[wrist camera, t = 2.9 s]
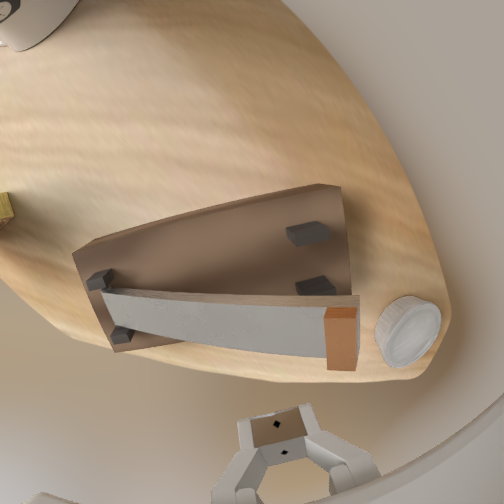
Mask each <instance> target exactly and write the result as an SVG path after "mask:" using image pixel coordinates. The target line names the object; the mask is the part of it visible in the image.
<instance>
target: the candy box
mask: <svg viewBox="0 0 504 504" xmlns="http://www.w3.org/2000/svg"><path fill="white" fill-rule="evenodd" d="M13 217H14V212H13V210H12V207H11V204H10V201H9V198H8V195H7V192H3V193H0V229H1V228H2V227H3V226H4V225H5V224H6V223H7V222H8V221H9V220H10V219H11V218H13Z"/></svg>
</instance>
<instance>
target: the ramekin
mask: <svg viewBox="0 0 504 504" xmlns="http://www.w3.org/2000/svg"><path fill="white" fill-rule="evenodd" d="M440 326H441V313H440V310H439V308H438V307H437V306H436V305H435V304H434V303H432V302H430V301H425V300H422V299H420V298H417V297H415V296H404V297H401V298H399V299H397V300H395V301H393V302H392V303H391V304H389V305H388V306H387V307H386V308H385V310H384V311H383V312H382V314H381V315H380V317H379V319H378V321H377V324H376V328H375V341H376V343H377V345H378V347H379V349H380V351H381V353H382V356H383V359H384V361H385V362H386V363H387V364H388V365H389V366H390V367H393V368H402V367H405V366H408V365H410V364H412V363H414V362H415V361H417V360H418V359H419V358H421V357H422V356H423V355H424V354H425V353H426V352H427V351H428V350H429V348H430V347H431V346H432V344H433V343H434V341H435V339H436V337H437V335H438V333H439V330H440Z"/></svg>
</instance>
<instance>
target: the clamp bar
mask: <svg viewBox="0 0 504 504" xmlns="http://www.w3.org/2000/svg"><path fill="white" fill-rule="evenodd" d="M100 292H101V294H102V297H103V299H104V302H105V304H106V306H107V309H108V311H109V313H110V315H111V318H112V320H113V322H114V324H115V326H116V327H121V326H122V327H126V328H130V329H134V330H138V331H142V332H146V333H151V334H155V335H160V336H164V337H169V338H174V339H179V340H184V341H189V342H194V343H200V344H206V345H212V346H218V347H224V348H231V349H238V350H245V351H253V352H261V353H270V354H279V355H290V356H302V357H316V358H327V370H337V371H356V366H357V360H358V355H359V349H360V297H359V295H346V296H275V295H233V294H207V293H187V292H169V291H154V290H140V289H127V288H115V287H111V286H110V284H109V285H108V286H107V287H106V288H102V289H100Z"/></svg>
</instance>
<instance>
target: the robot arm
mask: <svg viewBox="0 0 504 504" xmlns="http://www.w3.org/2000/svg"><path fill="white" fill-rule="evenodd" d="M78 1H79V0H0V46H8V47H9V48H10V49H12V50H13V51H23V50H26V49H28V48H30V47H32V46H34V45H36V44H37V43H39V42H40V41H42V40H43V39H44V38H45V37H47V36H48V35H49V34H50V33H51V32H53V31H54V30H55V29H56V28H57V27H58V26H59V25H60V24H61V23H62V22H63V21H64V19H65V18H66V17H67V16H68V15H69V13H70V12H71V11H72V9H73V8H74V7H75V5H76V4H77V3H78ZM237 424H238V433H239V441H240V448H241V451H238V452H237V453H236V454H235V456H234V457H233V459H232V460H231V462H230V463H229V465H228V467H227V468H226V470H225V471H224V473H223V474H222V476H221V477H220V479H219V480H218V481H217V483H216V485H215V486H214V487H213V489H212V490H211V504H264V503H263V502H262V500H261V499H260V497H259V496H258V494H257V493H256V491H257V489H258V487H259V485H260V483H261V481H262V479H263V477H264V474H265V472H266V470H267V467H268V466H272V465H277V464H281V463H284V462H288V461H293V460H297V459H301V458H305V457H308V458H309V459H310V460H312V461H313V462H314V463H316V464H317V465H318V466H320V467H321V468H323V469H324V470H326V471H327V472H328V473H329V492H330V495H331V496H329V497H326V498H323V499H320V500H316V501H312V502H309V503H306V504H504V393H503V394H502V395H501V396H500V397H499V398H498V399H497V400H496V401H495V402H494V403H492V404H491V405H490V406H489V407H488V408H487V409H486V410H484V411H483V412H482V413H481V414H480V415H479V416H477V417H476V418H475V419H474V420H472V421H471V422H470V423H468V424H467V425H466V426H465V427H463V428H462V429H461V430H459V431H458V432H456V433H455V434H454V435H452V436H451V437H449V438H448V439H446V440H445V441H443V442H442V443H440V444H439V445H437V446H436V447H434V448H433V449H431V450H429V451H428V452H426V453H424V454H423V455H421V456H419V457H418V458H416V459H414V460H413V461H411V462H409V463H407V464H405V465H404V466H401V467H399V468H397V469H395V470H394V471H391V472H389V473H387V474H385V475H383V476H381V474H380V473H379V471H378V469H377V467H376V465H375V463H374V461H373V459H372V457H371V455H370V453H369V452H367V451H364V450H362V449H360V448H358V447H356V446H354V445H353V444H350V443H349V442H347V441H345V440H343V439H341V438H339V437H337V436H336V435H334V434H332V433H330V432H328V431H326V430H324V431H322V430H321V428H320V425H319V423H318V420H317V418H316V415H315V413H314V411H313V408H312V406H311V404H310V403H306V404H303V405H299V406H295V407H291V408H288V409H284V410H280V411H276V412H274V413H270V414H265V415H260V416H255V417H250V418H245V419H239V420H238V422H237ZM23 504H79V503H75V502H72V501H69V500H66V499H62V498H59V497H56V496H53V495H51V494H48V493H44V492H40V493H38V494H36V495H34V496H33V497H31V498H30V499H28V500H27V501H25V502H24V503H23Z"/></svg>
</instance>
